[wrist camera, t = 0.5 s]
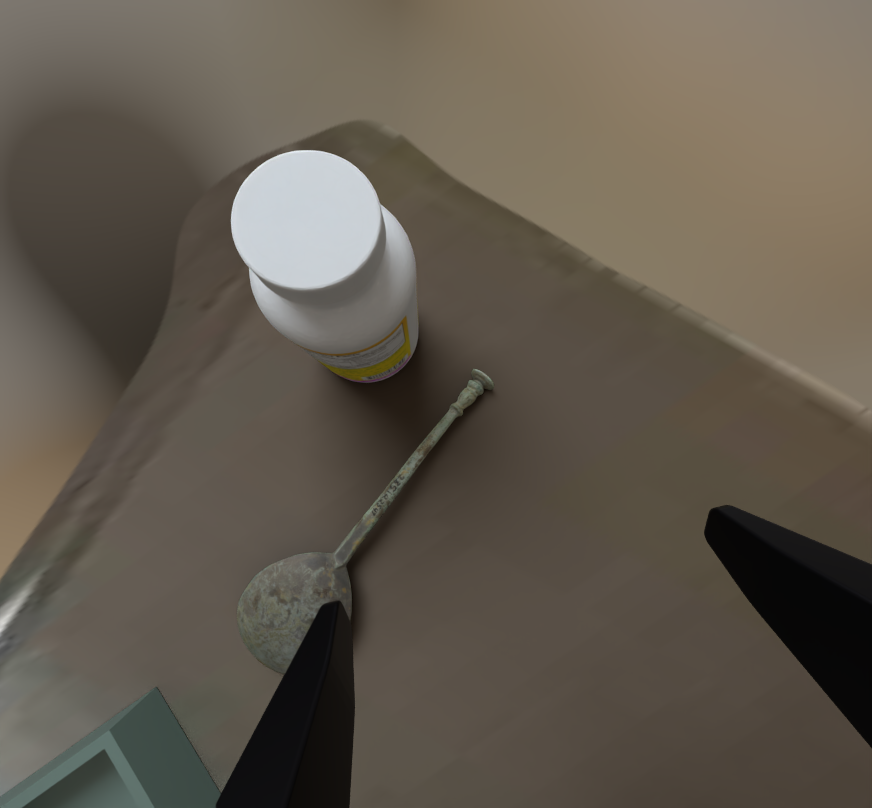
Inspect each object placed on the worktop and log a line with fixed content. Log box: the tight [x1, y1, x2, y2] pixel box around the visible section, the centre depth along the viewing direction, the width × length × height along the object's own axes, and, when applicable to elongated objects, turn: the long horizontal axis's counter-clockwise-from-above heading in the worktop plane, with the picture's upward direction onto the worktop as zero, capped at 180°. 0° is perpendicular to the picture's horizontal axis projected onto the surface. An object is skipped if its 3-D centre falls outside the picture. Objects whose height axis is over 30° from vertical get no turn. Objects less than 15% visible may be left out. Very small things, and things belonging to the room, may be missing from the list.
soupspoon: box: [237, 369, 494, 674], centre depth 22 cm, size 22×3×7 cm
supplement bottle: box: [231, 150, 419, 383], centre depth 18 cm, size 7×7×13 cm
